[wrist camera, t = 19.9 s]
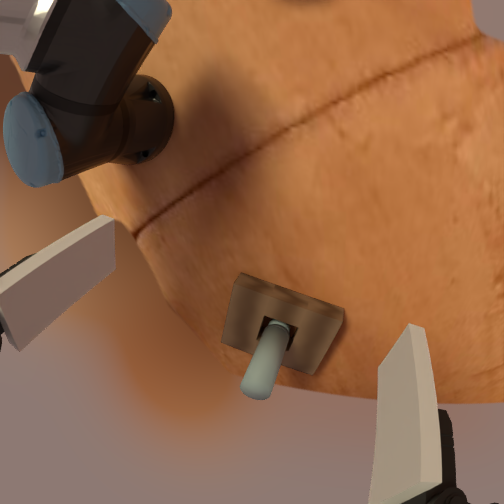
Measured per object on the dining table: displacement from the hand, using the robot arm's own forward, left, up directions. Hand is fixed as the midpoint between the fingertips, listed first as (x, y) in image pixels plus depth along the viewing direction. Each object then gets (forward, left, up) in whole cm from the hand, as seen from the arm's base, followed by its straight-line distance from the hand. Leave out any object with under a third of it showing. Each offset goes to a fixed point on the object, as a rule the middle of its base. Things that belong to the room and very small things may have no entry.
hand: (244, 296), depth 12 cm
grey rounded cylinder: (+2, -28, -32) cm, 42 cm away
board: (+2, -28, -32) cm, 42 cm away
